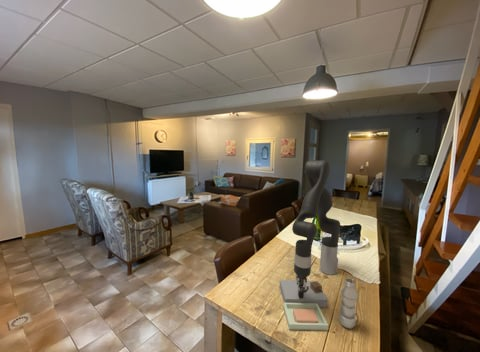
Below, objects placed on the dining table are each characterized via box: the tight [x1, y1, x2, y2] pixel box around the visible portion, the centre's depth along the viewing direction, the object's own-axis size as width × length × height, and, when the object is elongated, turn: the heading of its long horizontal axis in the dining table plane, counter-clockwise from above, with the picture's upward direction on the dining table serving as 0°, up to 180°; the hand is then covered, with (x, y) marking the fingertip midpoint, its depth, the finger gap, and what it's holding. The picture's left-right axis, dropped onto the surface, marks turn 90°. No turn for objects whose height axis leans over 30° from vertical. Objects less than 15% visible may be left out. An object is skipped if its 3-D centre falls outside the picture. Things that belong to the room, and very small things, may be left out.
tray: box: [282, 301, 329, 332], centre depth 88 cm, size 16×12×2 cm
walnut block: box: [310, 280, 323, 293], centre depth 100 cm, size 4×4×3 cm
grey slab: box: [279, 279, 329, 308], centre depth 101 cm, size 20×14×4 cm
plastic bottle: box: [338, 277, 359, 329], centre depth 84 cm, size 6×7×20 cm
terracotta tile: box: [293, 309, 318, 323], centre depth 86 cm, size 9×6×3 cm, turn 90°
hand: (300, 296), depth 94 cm, fingers closed
